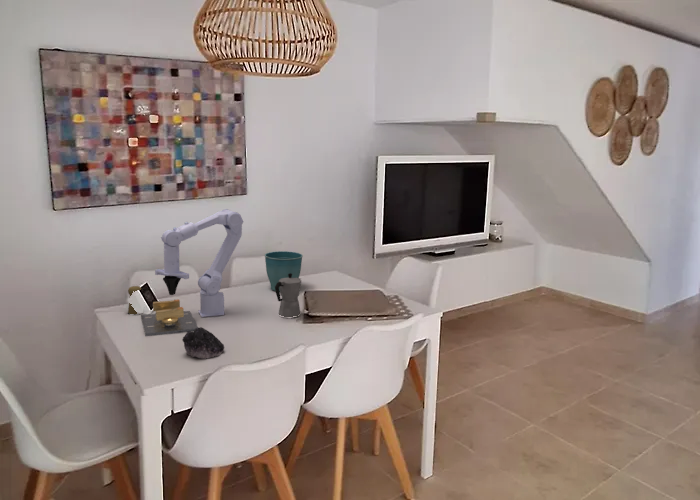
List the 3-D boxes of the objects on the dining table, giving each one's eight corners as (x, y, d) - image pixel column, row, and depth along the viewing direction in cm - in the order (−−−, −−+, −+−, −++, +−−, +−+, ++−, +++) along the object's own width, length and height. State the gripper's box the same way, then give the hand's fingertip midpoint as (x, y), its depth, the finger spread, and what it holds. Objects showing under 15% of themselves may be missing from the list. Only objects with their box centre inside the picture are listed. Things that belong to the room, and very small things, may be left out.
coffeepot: (291, 309, 246) (292, 268, 242) (308, 313, 241) (309, 272, 237) (266, 317, 233) (266, 275, 230) (283, 322, 228) (284, 279, 224)
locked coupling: (152, 312, 228) (152, 299, 227) (178, 309, 232) (178, 297, 231) (154, 316, 223) (153, 304, 222) (180, 314, 227) (180, 302, 226)
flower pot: (265, 283, 284) (265, 250, 280) (301, 284, 286) (302, 251, 282) (263, 294, 266) (263, 258, 262) (302, 294, 268) (303, 259, 265)
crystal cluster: (226, 346, 203) (224, 319, 202) (223, 358, 190) (220, 329, 189) (187, 350, 202) (185, 322, 200) (182, 362, 188) (179, 333, 187)
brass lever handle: (154, 321, 218) (154, 308, 217) (180, 317, 223) (180, 305, 222) (158, 326, 213) (158, 313, 212) (185, 322, 218) (185, 309, 217)
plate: (189, 313, 235) (189, 308, 235) (198, 330, 216) (198, 326, 215) (140, 317, 228) (140, 313, 227) (145, 336, 208) (145, 331, 208)
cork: (138, 315, 230) (137, 289, 228) (124, 314, 231) (123, 288, 229) (146, 311, 236) (145, 285, 234) (133, 309, 237) (132, 284, 235)
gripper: (149, 260, 221) (150, 294, 224) (181, 265, 216) (181, 299, 219) (161, 257, 227) (162, 290, 230) (192, 261, 223) (192, 294, 225)
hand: (172, 294), depth 225 cm, fingers closed
